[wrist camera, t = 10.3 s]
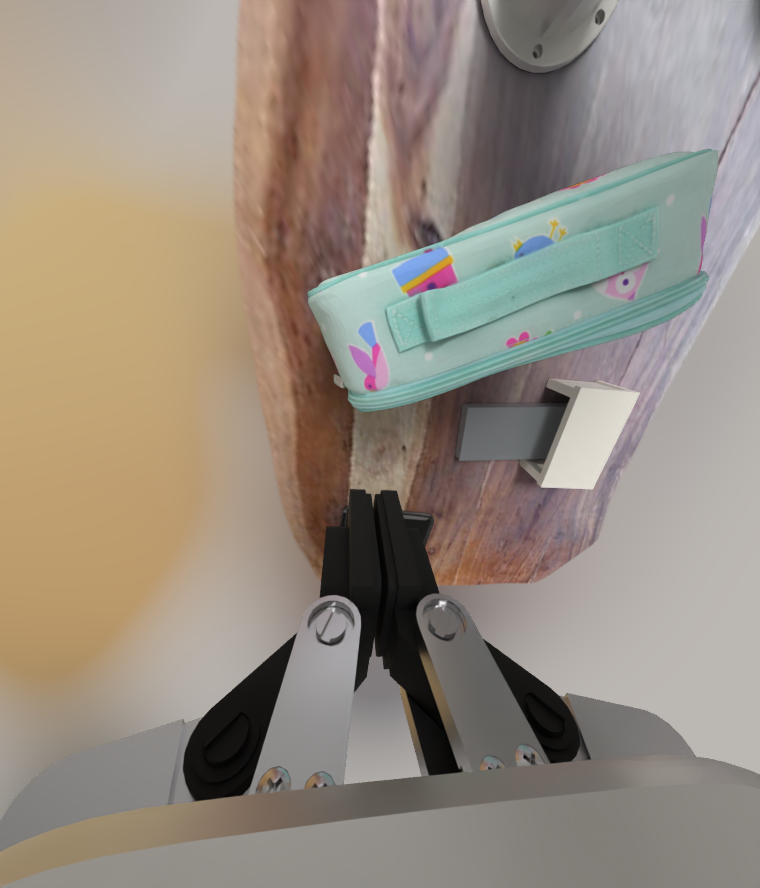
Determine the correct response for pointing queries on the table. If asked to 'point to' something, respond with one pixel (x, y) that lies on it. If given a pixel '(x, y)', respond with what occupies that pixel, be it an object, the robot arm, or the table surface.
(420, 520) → the phone
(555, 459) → the white hollow box
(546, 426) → the slate board
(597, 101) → the table surface
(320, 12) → the table surface
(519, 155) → the table surface
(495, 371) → the lunch box
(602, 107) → the table surface
